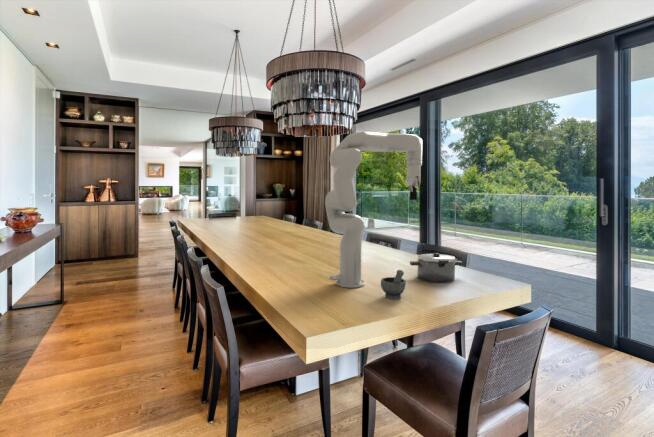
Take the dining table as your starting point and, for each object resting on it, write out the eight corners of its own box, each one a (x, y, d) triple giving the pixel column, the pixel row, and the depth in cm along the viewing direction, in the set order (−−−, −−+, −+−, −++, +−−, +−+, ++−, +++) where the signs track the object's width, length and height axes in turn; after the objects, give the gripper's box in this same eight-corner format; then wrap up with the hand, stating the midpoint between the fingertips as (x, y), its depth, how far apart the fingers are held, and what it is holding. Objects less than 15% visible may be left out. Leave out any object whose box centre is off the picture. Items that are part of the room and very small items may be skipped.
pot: (415, 283, 162) (416, 263, 161) (405, 273, 180) (405, 255, 179) (468, 282, 163) (469, 263, 162) (452, 273, 181) (453, 255, 180)
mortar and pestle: (376, 294, 144) (377, 265, 143) (397, 292, 148) (397, 264, 146) (390, 303, 134) (391, 272, 133) (412, 300, 137) (412, 270, 136)
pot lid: (425, 263, 159) (425, 257, 159) (413, 256, 178) (413, 250, 178) (463, 263, 160) (463, 257, 160) (446, 256, 179) (447, 250, 179)
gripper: (402, 164, 186) (402, 199, 187) (410, 162, 171) (410, 200, 172) (417, 164, 186) (416, 199, 188) (426, 162, 171) (425, 200, 173)
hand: (413, 199), depth 180 cm, fingers closed
